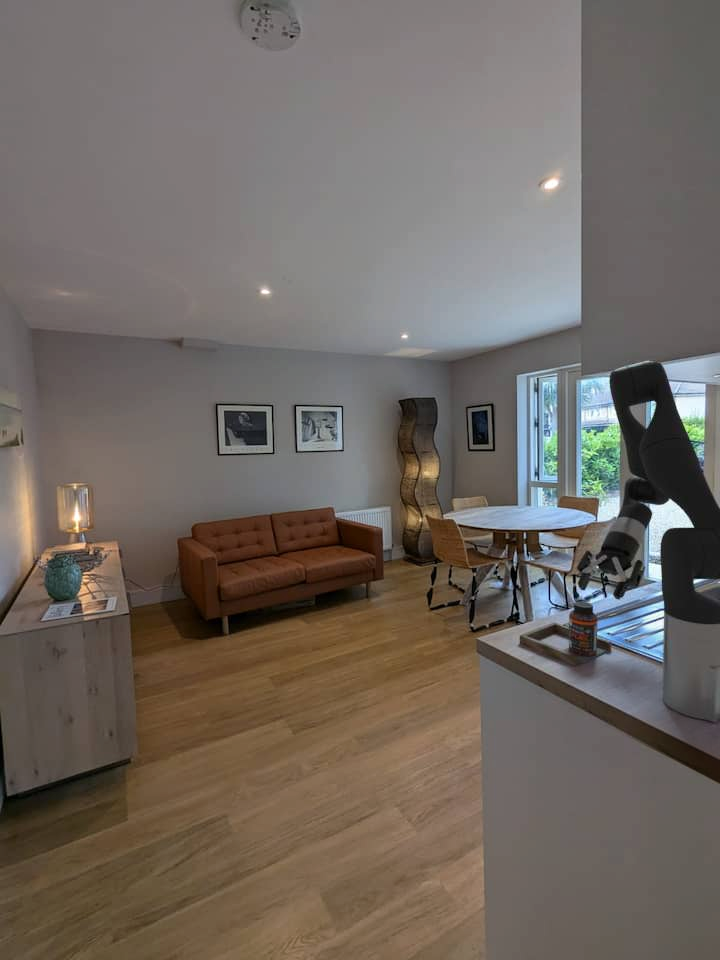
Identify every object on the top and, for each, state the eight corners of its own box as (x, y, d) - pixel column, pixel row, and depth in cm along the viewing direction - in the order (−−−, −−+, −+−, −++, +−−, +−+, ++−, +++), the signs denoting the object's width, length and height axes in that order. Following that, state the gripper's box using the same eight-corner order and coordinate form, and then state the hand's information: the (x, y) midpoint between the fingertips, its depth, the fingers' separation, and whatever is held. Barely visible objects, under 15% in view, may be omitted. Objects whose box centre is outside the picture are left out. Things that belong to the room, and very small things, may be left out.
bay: (611, 649, 108) (611, 641, 108) (576, 666, 100) (576, 657, 100) (554, 629, 120) (554, 622, 120) (519, 643, 113) (519, 635, 113)
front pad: (606, 652, 107) (606, 650, 107) (581, 664, 101) (581, 662, 101) (582, 643, 112) (582, 641, 112) (557, 654, 106) (557, 652, 106)
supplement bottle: (567, 654, 105) (567, 606, 105) (569, 643, 111) (569, 598, 110) (596, 659, 103) (597, 610, 102) (597, 648, 108) (597, 601, 107)
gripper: (590, 526, 119) (564, 577, 114) (648, 534, 107) (622, 591, 102) (601, 543, 122) (576, 594, 117) (659, 553, 110) (634, 609, 105)
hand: (598, 592), depth 109 cm, fingers open, 8 cm apart
